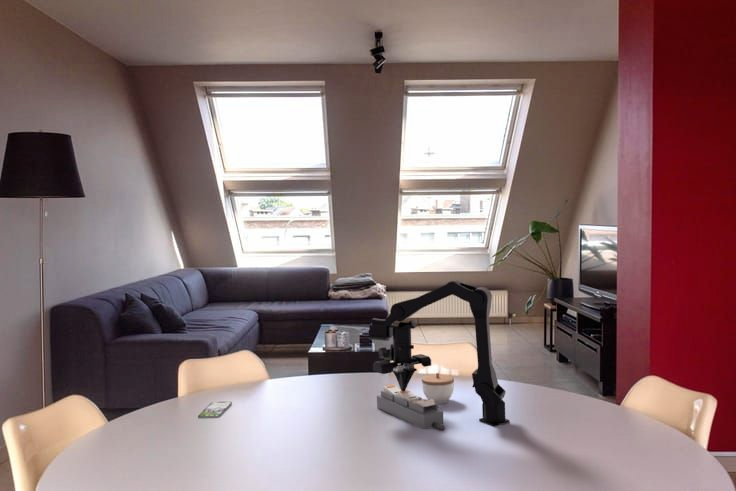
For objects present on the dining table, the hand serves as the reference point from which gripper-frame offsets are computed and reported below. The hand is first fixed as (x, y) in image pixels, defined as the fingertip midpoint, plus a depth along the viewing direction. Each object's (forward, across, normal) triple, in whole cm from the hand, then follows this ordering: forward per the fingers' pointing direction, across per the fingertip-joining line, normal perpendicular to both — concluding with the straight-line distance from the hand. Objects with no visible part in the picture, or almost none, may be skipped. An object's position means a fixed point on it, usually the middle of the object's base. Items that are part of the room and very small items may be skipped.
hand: (403, 390), depth 189 cm
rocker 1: (+1, 0, +11) cm, 11 cm away
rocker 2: (+1, 0, +3) cm, 3 cm away
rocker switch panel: (+7, 0, +5) cm, 9 cm away
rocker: (+2, 0, -5) cm, 5 cm away
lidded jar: (+8, -17, -4) cm, 19 cm away
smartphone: (+9, +48, -40) cm, 63 cm away
